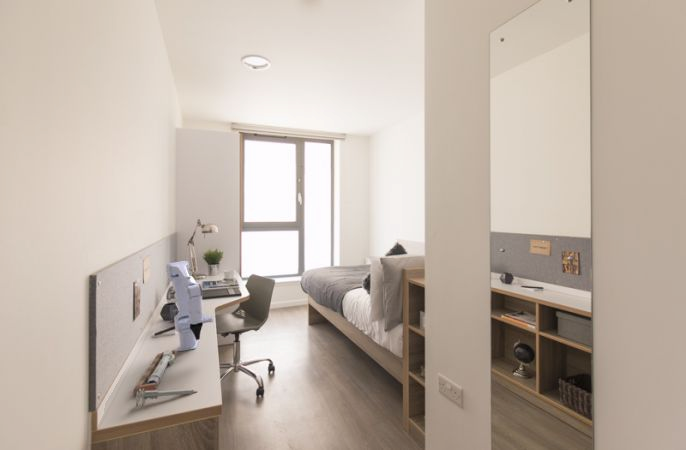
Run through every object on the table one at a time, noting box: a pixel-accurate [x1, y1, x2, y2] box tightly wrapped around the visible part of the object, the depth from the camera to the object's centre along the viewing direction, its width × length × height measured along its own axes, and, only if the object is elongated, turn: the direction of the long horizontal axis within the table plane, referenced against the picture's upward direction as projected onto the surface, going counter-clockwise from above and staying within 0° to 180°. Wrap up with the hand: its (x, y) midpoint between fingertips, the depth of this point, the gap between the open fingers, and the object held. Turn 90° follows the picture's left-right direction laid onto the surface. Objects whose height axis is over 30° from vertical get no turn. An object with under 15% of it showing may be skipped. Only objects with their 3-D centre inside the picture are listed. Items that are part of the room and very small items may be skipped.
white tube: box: [147, 349, 176, 388], centre depth 145 cm, size 5×7×25 cm
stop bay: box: [133, 349, 177, 397], centre depth 145 cm, size 32×8×3 cm, turn 14°
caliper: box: [135, 388, 199, 407], centre depth 125 cm, size 20×1×6 cm, turn 112°
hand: (197, 339), depth 157 cm, fingers closed
